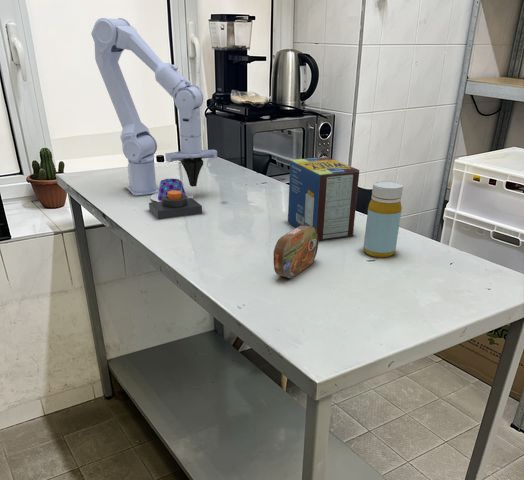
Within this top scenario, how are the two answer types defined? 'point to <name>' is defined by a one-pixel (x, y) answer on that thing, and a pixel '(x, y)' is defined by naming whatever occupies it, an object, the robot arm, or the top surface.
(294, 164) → the protein box
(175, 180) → the pudding
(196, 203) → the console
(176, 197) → the button
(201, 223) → the top surface
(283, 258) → the tin
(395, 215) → the bottle
